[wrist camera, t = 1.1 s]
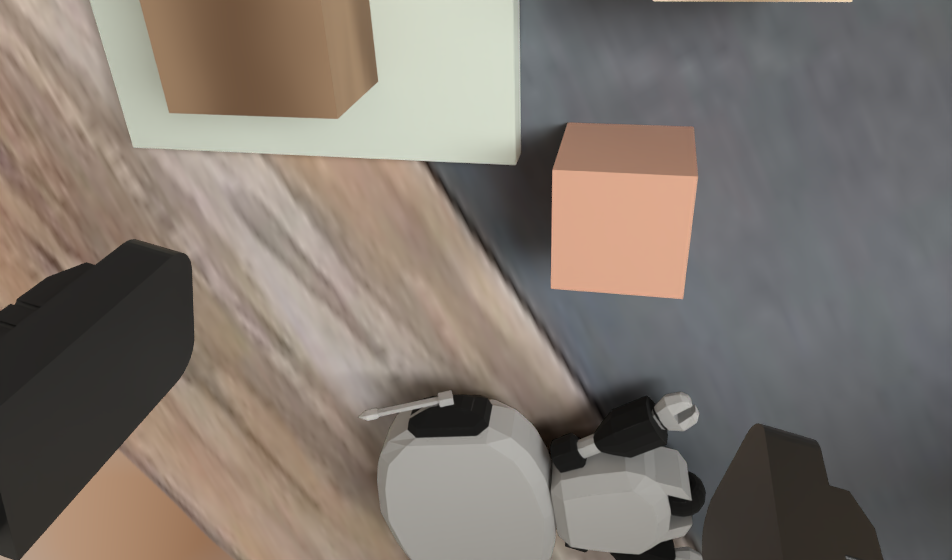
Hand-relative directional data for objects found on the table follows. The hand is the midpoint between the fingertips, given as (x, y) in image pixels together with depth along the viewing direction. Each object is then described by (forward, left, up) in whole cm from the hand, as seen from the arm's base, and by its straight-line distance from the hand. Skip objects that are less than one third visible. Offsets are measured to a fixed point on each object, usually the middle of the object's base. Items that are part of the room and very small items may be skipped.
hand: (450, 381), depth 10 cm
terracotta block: (-2, +5, -19) cm, 20 cm away
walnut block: (+10, -2, -18) cm, 20 cm away
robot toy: (+1, +20, -19) cm, 28 cm away
